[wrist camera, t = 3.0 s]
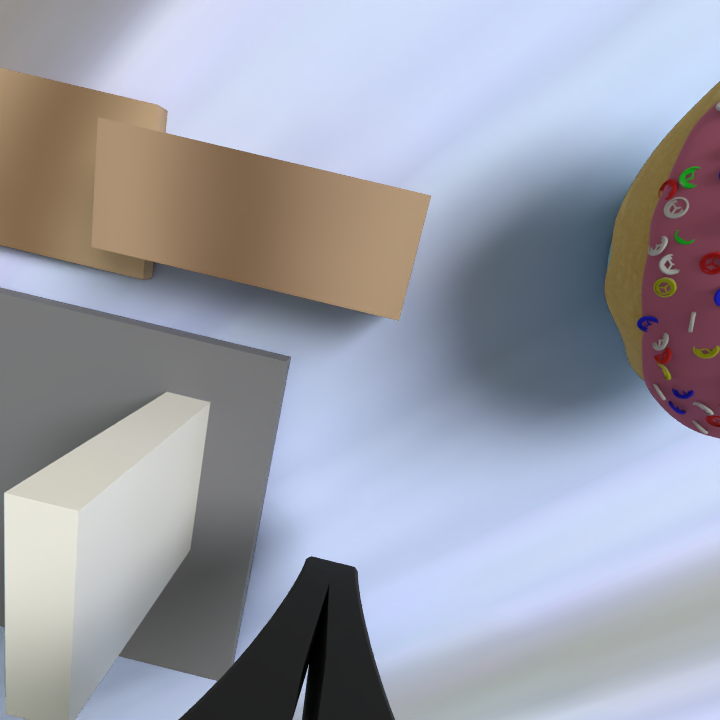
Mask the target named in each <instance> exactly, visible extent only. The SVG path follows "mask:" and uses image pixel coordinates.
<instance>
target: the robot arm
mask: <svg viewBox="0 0 720 720" xmlns="http://www.w3.org/2000/svg"><path fill="white" fill-rule="evenodd" d="M308 665H309V668H308ZM307 668H308V676H307V684H306V692H305V700H304V708H303V716H302V720H395V718H394V716H393V713H392V710H391V708H390V705H389V702H388V699H387V697H386V694H385V691H384V688H383V685H382V682H381V679H380V675H379V672H378V669H377V666H376V662H375V659H374V655H373V652H372V648H371V644H370V640H369V636H368V632H367V628H366V624H365V619H364V615H363V609H362V604H361V599H360V592H359V584H358V571H357V570H356V568H355V567H352V566H348V565H344V564H340V563H336V562H332V561H328V560H324V559H320V558H316V557H312V556H311V557H309V558H307V559H306V561H305V564H304V566H303V568H302V570H301V572H300V574H299V576H298V578H297V580H296V581H295V583H294V585H293V586H292V588H291V590H290V591H289V593H288V594H287V596H286V597H285V599H284V600H283V602H282V603H281V605H280V606H279V608H278V609H277V610H276V612H275V613H274V615H273V616H272V618H271V619H270V620H269V622H268V623H267V624H266V625H265V627H264V628H263V629H262V630H261V632H260V633H259V634H258V636H257V637H256V638H255V639H254V641H253V642H252V643H251V644H250V646H249V647H248V648H247V649H246V650H245V652H244V653H243V654H242V655H241V656H240V657H239V659H238V660H237V661H236V662H235V663H234V664H233V665H232V666H231V667H230V669H229V670H228V671H227V672H226V673H225V674H224V675H223V676H222V677H221V678H220V679H219V680H218V681H217V682H216V683H215V685H214V686H213V687H212V688H211V689H210V690H209V691H208V692H207V693H206V694H205V695H204V696H203V697H202V698H201V699H200V700H199V701H198V702H197V703H196V704H195V705H194V706H193V707H192V708H190V709H189V710H188V711H187V712H186V713H185V714H184V715H183V716H182V717H181V718H180V719H179V720H292V719H293V716H294V713H295V709H296V706H297V702H298V699H299V696H300V692H301V689H302V685H303V682H304V679H305V675H306V672H307Z"/></svg>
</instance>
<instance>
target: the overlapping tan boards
mask: <svg viewBox="0 0 720 720" xmlns="http://www.w3.org/2000/svg"><path fill="white" fill-rule="evenodd" d="M167 112H168V111H167V110H165V109H164V108H162V107H160V106H159V105H156V104H152V103H147V102H143V101H139V100H135V99H130V98H126V97H122V96H118V95H113V94H109V93H105V92H101V91H96V90H92V89H88V88H84V87H79V86H75V85H71V84H66V83H62V82H58V81H54V80H49V79H45V78H41V77H37V76H32V75H28V74H24V73H20V72H15V71H11V70H7V69H3V68H0V245H2V246H6V247H10V248H14V249H18V250H23V251H27V252H31V253H35V254H39V255H43V256H47V257H52V258H56V259H60V260H64V261H68V262H72V263H77V264H81V265H85V266H89V267H93V268H97V269H101V270H106V271H110V272H114V273H118V274H122V275H126V276H130V277H135V278H139V279H143V280H144V279H152V274H153V263H154V262H157V263H161V264H165V265H169V266H173V267H178V268H182V269H186V270H190V271H194V272H198V273H203V274H207V275H211V276H215V277H219V278H223V279H228V280H232V281H236V282H240V283H244V284H248V285H252V286H257V287H261V288H265V289H269V290H273V291H277V292H282V293H286V294H290V295H294V296H298V297H302V298H307V299H311V300H315V301H319V302H323V303H327V304H331V305H336V306H340V307H344V308H348V309H352V310H356V311H361V312H365V313H369V314H373V315H377V316H381V317H386V318H390V319H394V320H398V321H399V318H400V315H401V311H402V307H403V303H404V299H405V295H406V291H407V287H408V283H409V280H410V276H411V272H412V268H413V264H414V260H415V256H416V252H417V249H418V245H419V241H420V237H421V233H422V229H423V225H424V221H425V217H426V214H427V210H428V206H429V202H430V198H431V196H430V195H426V194H422V193H418V192H413V191H409V190H405V189H401V188H396V187H392V186H388V185H384V184H380V183H375V182H371V181H367V180H363V179H358V178H354V177H350V176H346V175H341V174H337V173H333V172H329V171H324V170H320V169H316V168H312V167H307V166H303V165H299V164H295V163H290V162H286V161H282V160H278V159H273V158H269V157H265V156H261V155H257V154H252V153H248V152H244V151H240V150H235V149H231V148H227V147H223V146H218V145H214V144H210V143H206V142H201V141H197V140H193V139H189V138H184V137H180V136H176V135H172V134H167V133H166V122H167Z"/></svg>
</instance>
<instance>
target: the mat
mask: <svg viewBox="0 0 720 720" xmlns="http://www.w3.org/2000/svg"><path fill="white" fill-rule="evenodd" d="M290 358H291V357H289V356H284V355H280V354H276V353H272V352H268V351H263V350H259V349H255V348H251V347H247V346H242V345H238V344H234V343H230V342H226V341H222V340H217V339H213V338H209V337H205V336H201V335H196V334H192V333H188V332H184V331H180V330H175V329H171V328H167V327H163V326H159V325H155V324H150V323H146V322H142V321H138V320H134V319H129V318H125V317H121V316H117V315H113V314H109V313H104V312H100V311H96V310H92V309H88V308H83V307H79V306H75V305H71V304H67V303H62V302H58V301H54V300H50V299H46V298H42V297H37V296H33V295H29V294H25V293H21V292H16V291H12V290H8V289H4V288H0V626H2V627H5V589H4V493H5V492H6V491H8V490H10V489H11V488H13V487H14V486H16V485H18V484H19V483H21V482H22V481H24V480H26V479H27V478H29V477H30V476H32V475H34V474H35V473H37V472H39V471H40V470H42V469H43V468H45V467H47V466H48V465H50V464H51V463H53V462H55V461H56V460H58V459H59V458H61V457H63V456H64V455H66V454H68V453H69V452H71V451H72V450H74V449H76V448H77V447H79V446H80V445H82V444H84V443H85V442H87V441H89V440H90V439H92V438H93V437H95V436H97V435H98V434H100V433H101V432H103V431H105V430H106V429H108V428H109V427H111V426H113V425H114V424H116V423H118V422H119V421H121V420H122V419H124V418H126V417H127V416H129V415H130V414H132V413H134V412H135V411H137V410H138V409H140V408H142V407H143V406H145V405H147V404H148V403H150V402H151V401H153V400H155V399H156V398H158V397H159V396H161V395H163V394H164V393H166V392H170V393H174V394H178V395H182V396H186V397H191V398H195V399H199V400H203V401H207V402H210V409H209V416H208V424H207V431H206V438H205V446H204V453H203V460H202V468H201V475H200V482H199V489H198V497H197V504H196V511H195V519H194V526H193V533H192V541H191V548H190V551H189V552H188V554H187V555H186V557H185V558H184V560H183V561H182V563H181V564H180V566H179V567H178V569H177V570H176V572H175V573H174V574H173V576H172V577H171V579H170V580H169V582H168V583H167V585H166V586H165V588H164V589H163V591H162V592H161V594H160V595H159V597H158V598H157V600H156V601H155V602H154V604H153V605H152V607H151V608H150V610H149V611H148V613H147V614H146V616H145V617H144V619H143V620H142V622H141V623H140V625H139V626H138V628H137V629H136V630H135V632H134V633H133V635H132V636H131V638H130V639H129V641H128V642H127V644H126V645H125V647H124V648H123V650H122V651H121V653H120V654H119V656H121V657H125V658H129V659H133V660H137V661H141V662H145V663H149V664H153V665H157V666H161V667H165V668H169V669H173V670H176V671H180V672H184V673H188V674H192V675H196V676H200V677H204V678H208V679H212V680H216V681H218V680H219V679H220V678H221V677H222V676H223V675H224V674H225V673H226V672H227V671H228V670H229V669H230V667H231V666H232V665H233V663H234V658H235V653H236V647H237V642H238V637H239V631H240V626H241V621H242V615H243V610H244V605H245V599H246V594H247V589H248V583H249V578H250V572H251V567H252V562H253V556H254V551H255V546H256V540H257V535H258V530H259V524H260V519H261V514H262V508H263V503H264V498H265V492H266V487H267V481H268V476H269V471H270V465H271V460H272V455H273V449H274V444H275V439H276V433H277V428H278V423H279V417H280V412H281V407H282V401H283V396H284V390H285V385H286V380H287V374H288V369H289V364H290Z"/></svg>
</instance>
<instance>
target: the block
mask: <svg viewBox="0 0 720 720" xmlns="http://www.w3.org/2000/svg"><path fill="white" fill-rule="evenodd" d="M209 409H210V402H207V401H203V400H199V399H195V398H191V397H186V396H182V395H178V394H174V393H170V392H166V393H164V394H163V395H161V396H159V397H158V398H156V399H155V400H153V401H151V402H150V403H148V404H147V405H145V406H143V407H142V408H140V409H138V410H137V411H135V412H134V413H132V414H130V415H129V416H127V417H126V418H124V419H122V420H121V421H119V422H118V423H116V424H114V425H113V426H111V427H109V428H108V429H106V430H105V431H103V432H101V433H100V434H98V435H97V436H95V437H93V438H92V439H90V440H89V441H87V442H85V443H84V444H82V445H80V446H79V447H77V448H76V449H74V450H72V451H71V452H69V453H68V454H66V455H64V456H63V457H61V458H59V459H58V460H56V461H55V462H53V463H51V464H50V465H48V466H47V467H45V468H43V469H42V470H40V471H39V472H37V473H35V474H34V475H32V476H30V477H29V478H27V479H26V480H24V481H22V482H21V483H19V484H18V485H16V486H14V487H13V488H11V489H10V490H8V491H6V492H5V493H4V589H5V697H6V714H8V715H12V716H15V717H19V718H23V719H27V720H75V719H76V717H77V716H78V714H79V713H80V712H81V710H82V709H83V707H84V706H85V704H86V703H87V701H88V700H89V698H90V697H91V695H92V694H93V692H94V691H95V689H96V688H97V686H98V685H99V684H100V682H101V681H102V679H103V678H104V676H105V675H106V673H107V672H108V670H109V669H110V667H111V666H112V664H113V663H114V661H115V660H116V658H117V657H118V656H119V654H120V653H121V651H122V650H123V648H124V647H125V645H126V644H127V642H128V641H129V639H130V638H131V636H132V635H133V633H134V632H135V630H136V629H137V628H138V626H139V625H140V623H141V622H142V620H143V619H144V617H145V616H146V614H147V613H148V611H149V610H150V608H151V607H152V605H153V604H154V602H155V601H156V600H157V598H158V597H159V595H160V594H161V592H162V591H163V589H164V588H165V586H166V585H167V583H168V582H169V580H170V579H171V577H172V576H173V574H174V573H175V572H176V570H177V569H178V567H179V566H180V564H181V563H182V561H183V560H184V558H185V557H186V555H187V554H188V552H189V551H190V548H191V541H192V533H193V526H194V519H195V511H196V504H197V497H198V489H199V482H200V475H201V468H202V460H203V453H204V446H205V438H206V431H207V424H208V416H209Z"/></svg>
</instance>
